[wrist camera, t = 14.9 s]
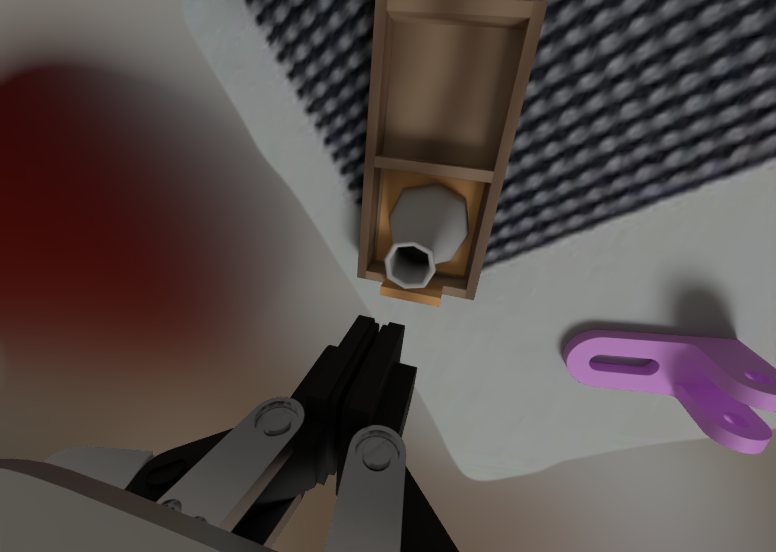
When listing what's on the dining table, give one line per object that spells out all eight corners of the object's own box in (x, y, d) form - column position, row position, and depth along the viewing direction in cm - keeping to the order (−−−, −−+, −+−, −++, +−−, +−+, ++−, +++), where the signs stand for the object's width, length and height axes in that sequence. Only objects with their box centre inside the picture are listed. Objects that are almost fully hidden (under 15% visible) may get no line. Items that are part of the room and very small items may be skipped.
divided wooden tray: (537, 18, 22) (558, -16, 17) (473, 284, 30) (473, 314, 25) (387, 11, 23) (365, -23, 18) (367, 264, 32) (348, 288, 27)
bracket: (736, 338, 27) (815, 399, 21) (713, 389, 29) (778, 457, 23) (568, 326, 30) (593, 376, 24) (558, 373, 32) (579, 430, 26)
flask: (395, 174, 27) (359, 194, 18) (480, 191, 26) (486, 220, 17) (383, 252, 30) (347, 302, 21) (458, 270, 29) (454, 330, 20)
